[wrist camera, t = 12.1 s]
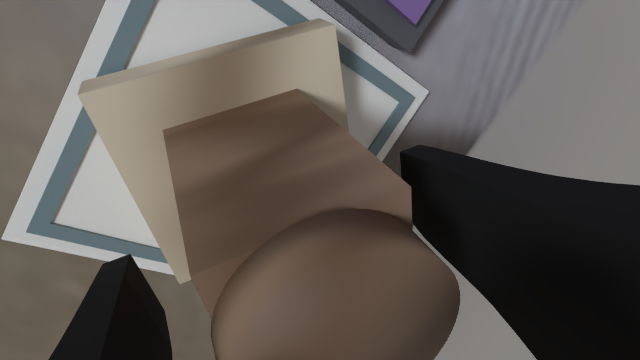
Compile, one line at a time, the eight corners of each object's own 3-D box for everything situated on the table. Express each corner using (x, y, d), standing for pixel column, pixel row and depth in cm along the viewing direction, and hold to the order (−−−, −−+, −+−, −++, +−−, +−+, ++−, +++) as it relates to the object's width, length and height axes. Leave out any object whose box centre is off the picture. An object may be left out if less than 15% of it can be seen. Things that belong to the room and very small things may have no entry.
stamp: (315, 16, 12) (546, 107, 6) (342, 191, 16) (497, 370, 10) (82, 77, 11) (4, 316, 4) (175, 256, 15) (217, 531, 8)
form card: (424, 89, 16) (431, 92, 16) (287, 294, 18) (290, 300, 18) (156, -115, 10) (157, -117, 10) (3, 233, 12) (0, 240, 12)
